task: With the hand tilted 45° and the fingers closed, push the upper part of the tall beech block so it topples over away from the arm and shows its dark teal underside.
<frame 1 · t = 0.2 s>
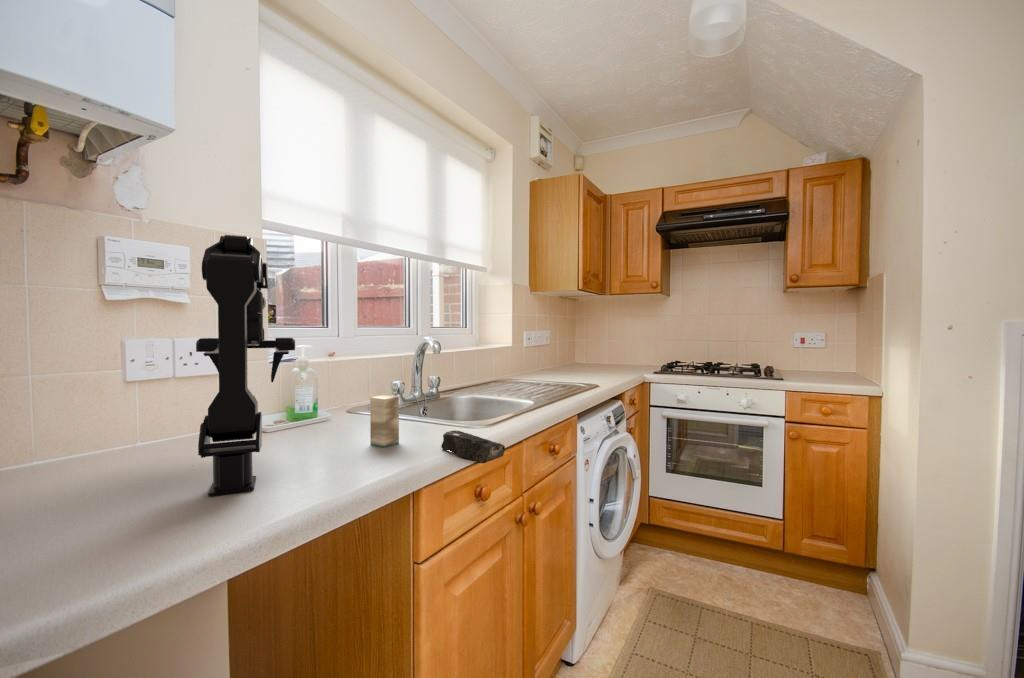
hand: (249, 383, 102), 14 cm above the counter, tool pointing down, fingers open, 9 cm apart
rock: (471, 455, 99), on the counter
block: (384, 443, 106), on the counter
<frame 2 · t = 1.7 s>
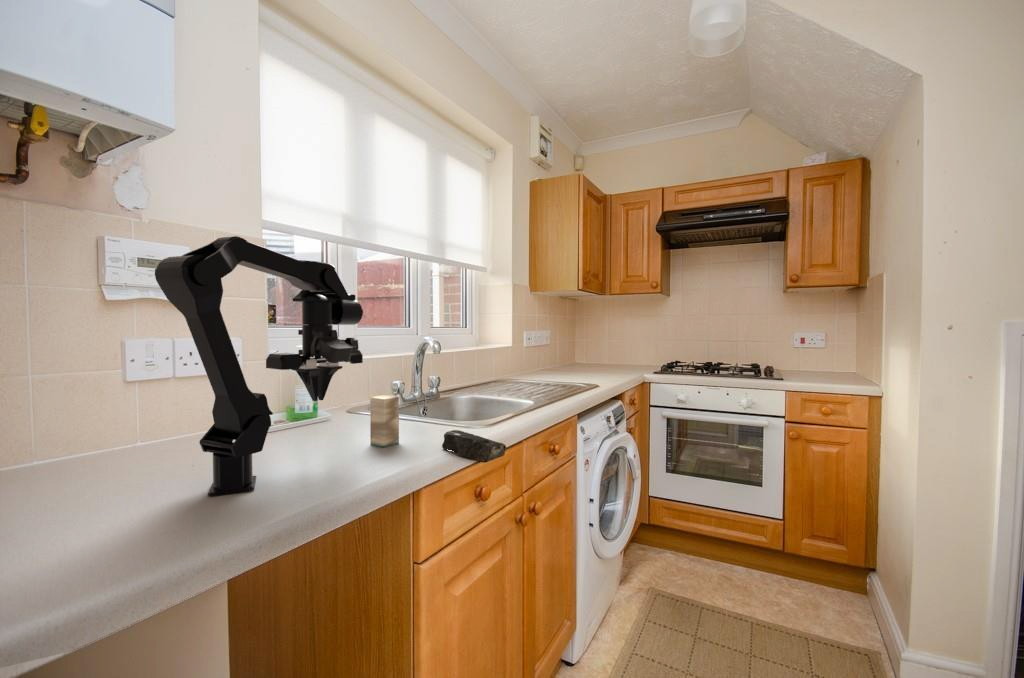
hand: (318, 400, 94), 12 cm above the counter, tool pointing down, fingers closed
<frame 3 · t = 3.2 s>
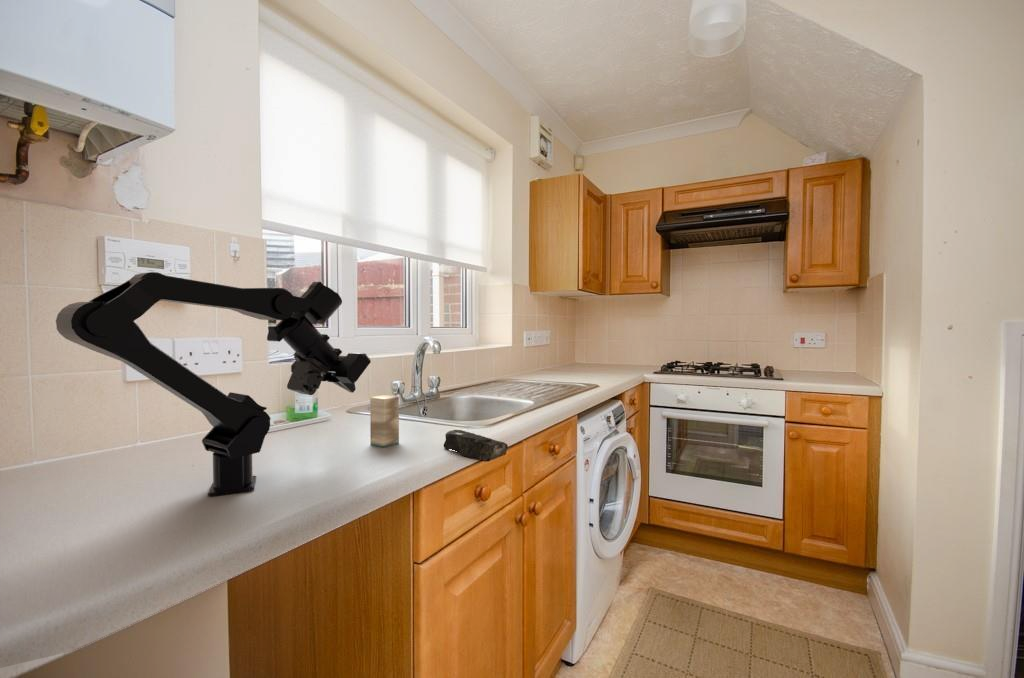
hand: (353, 390, 98), 13 cm above the counter, tool tilted 45°, fingers closed
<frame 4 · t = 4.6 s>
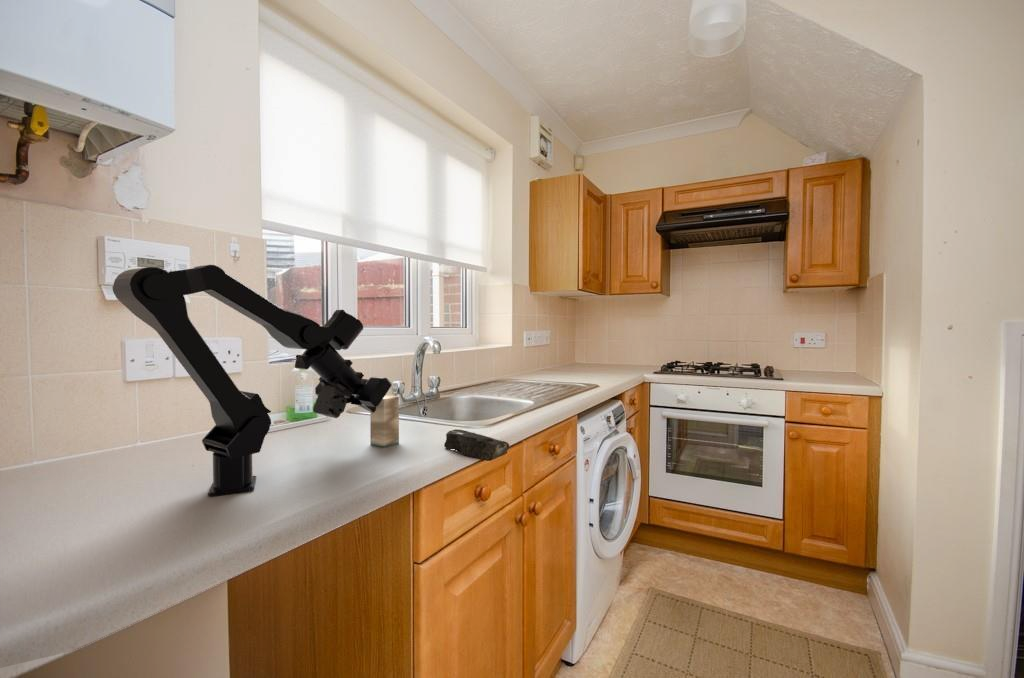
hand: (373, 410, 103), 8 cm above the counter, tool tilted 45°, fingers closed
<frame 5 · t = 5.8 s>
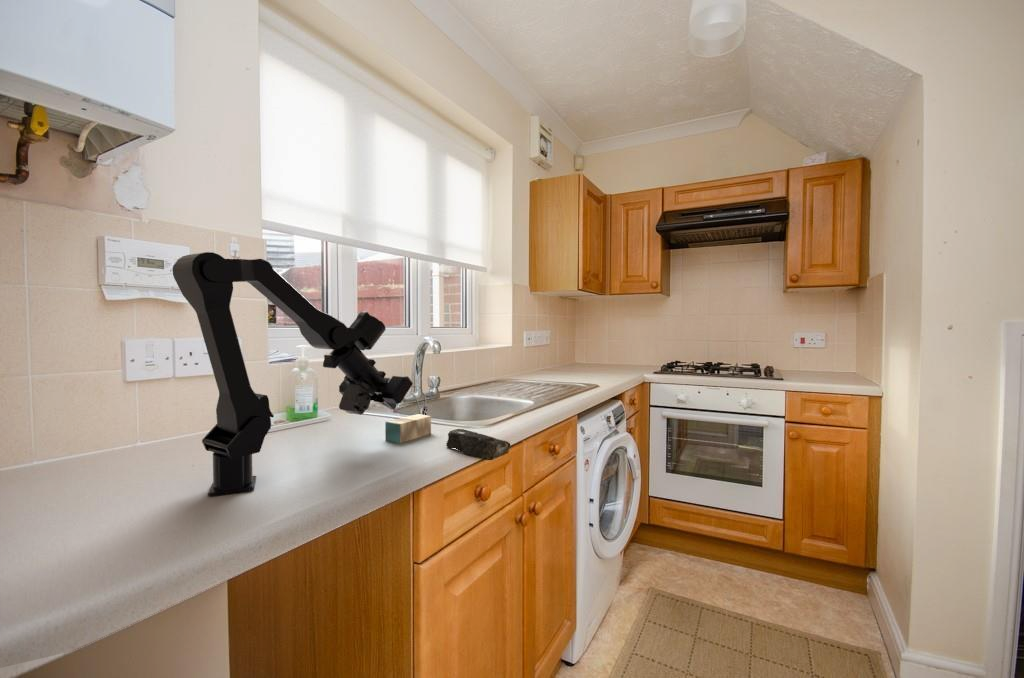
hand: (394, 408, 108), 8 cm above the counter, tool tilted 45°, fingers closed
block: (392, 432, 107), point 2 cm above the counter, tilted 90°
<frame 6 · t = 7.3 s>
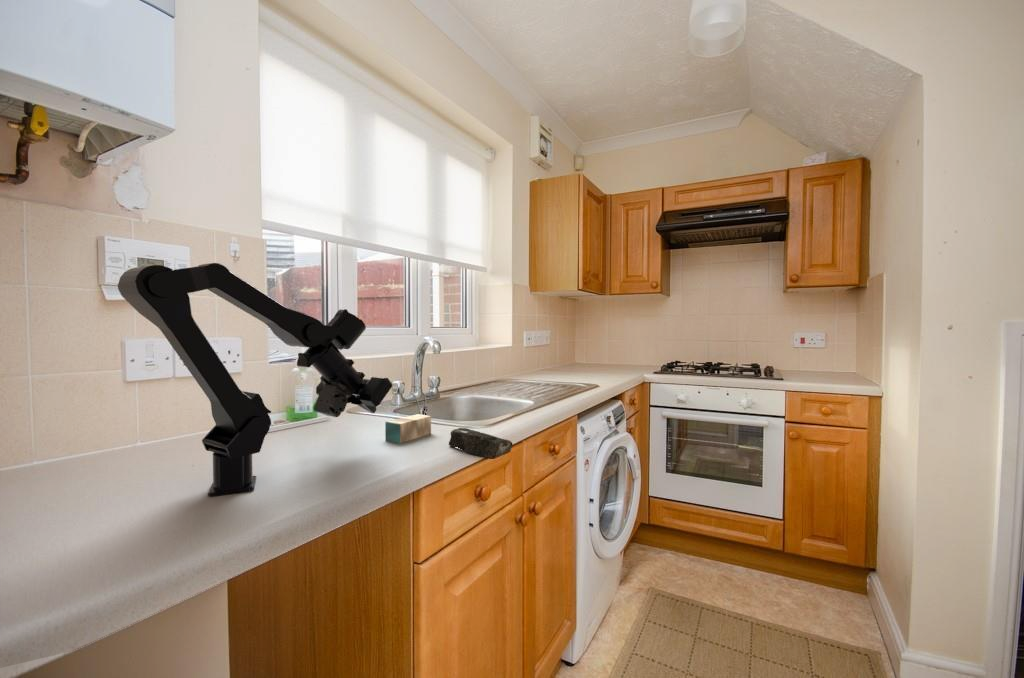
hand: (374, 411, 103), 8 cm above the counter, tool tilted 45°, fingers closed
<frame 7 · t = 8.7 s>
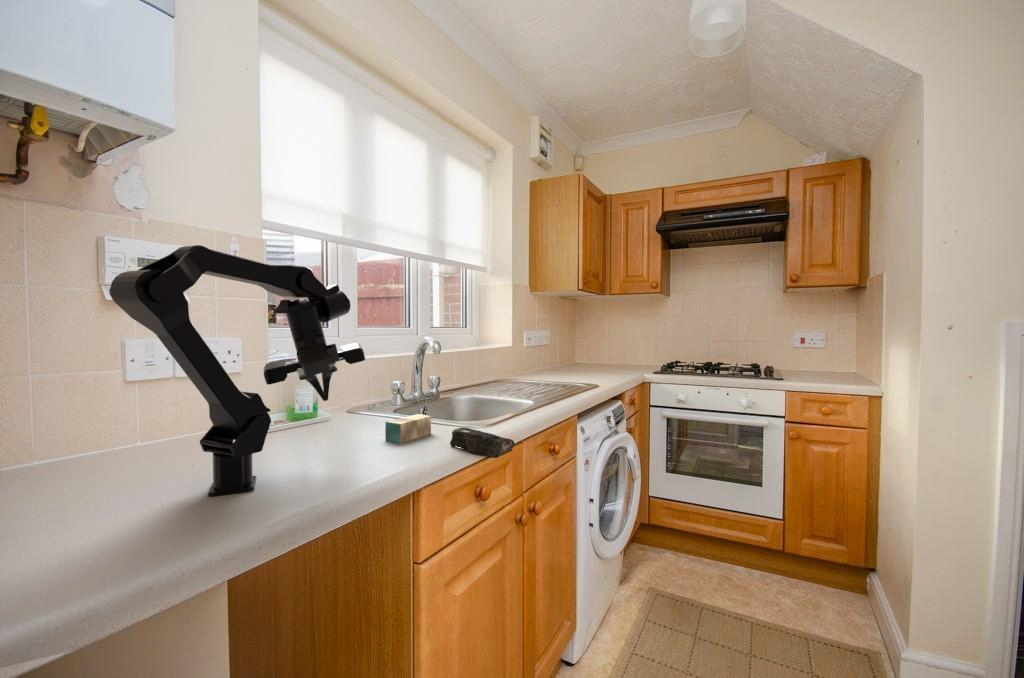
hand: (325, 400, 95), 12 cm above the counter, tool tilted 20°, fingers closed
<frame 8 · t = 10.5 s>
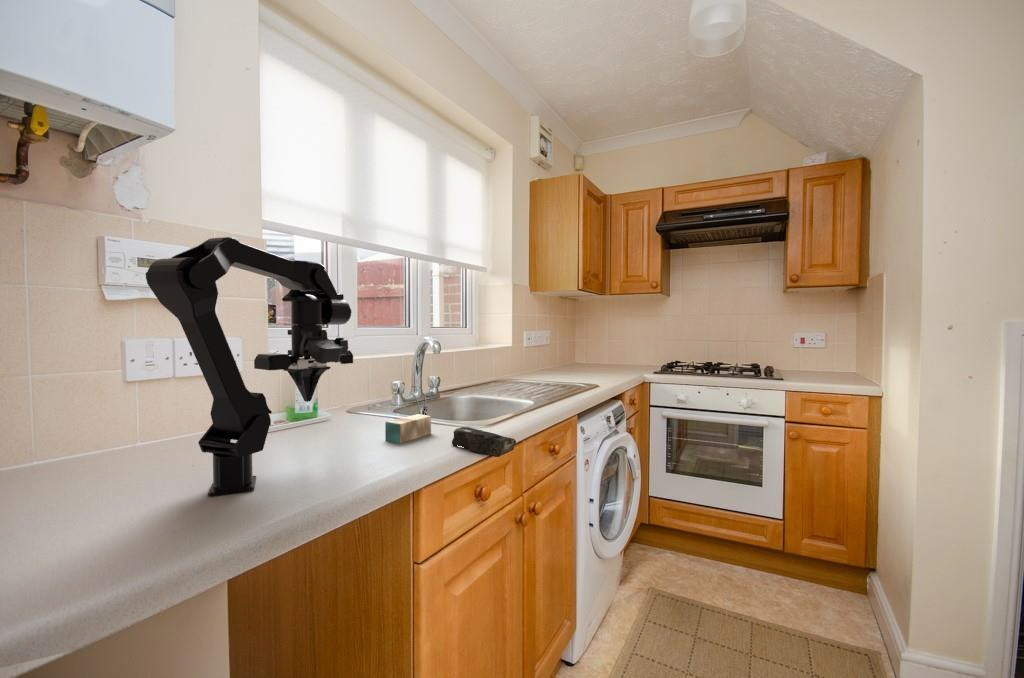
hand: (307, 401, 93), 12 cm above the counter, tool pointing down, fingers closed
at the end: block tilted 90°; block inside the target area (3.7 cm from its centre), point 2.2 cm above the counter; the gripper is holding nothing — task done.
